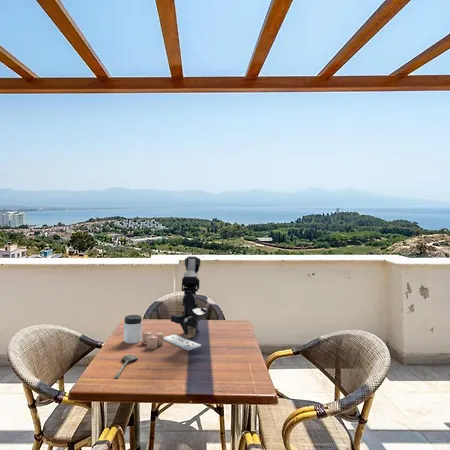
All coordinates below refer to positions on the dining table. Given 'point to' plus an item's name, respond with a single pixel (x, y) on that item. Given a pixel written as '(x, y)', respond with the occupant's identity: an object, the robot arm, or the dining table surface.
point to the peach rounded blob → (152, 342)
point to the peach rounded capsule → (160, 338)
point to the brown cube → (190, 332)
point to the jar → (132, 329)
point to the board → (181, 342)
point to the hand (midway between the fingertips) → (189, 333)
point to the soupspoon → (127, 359)
